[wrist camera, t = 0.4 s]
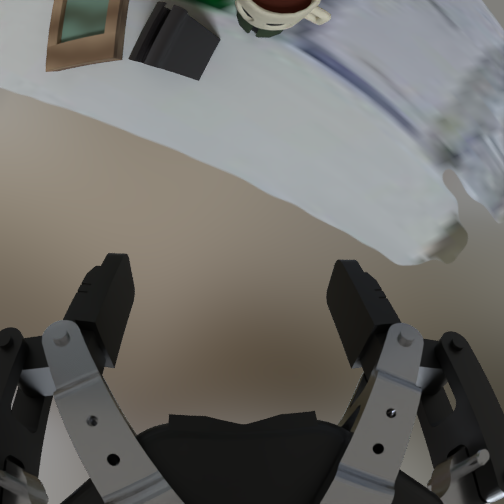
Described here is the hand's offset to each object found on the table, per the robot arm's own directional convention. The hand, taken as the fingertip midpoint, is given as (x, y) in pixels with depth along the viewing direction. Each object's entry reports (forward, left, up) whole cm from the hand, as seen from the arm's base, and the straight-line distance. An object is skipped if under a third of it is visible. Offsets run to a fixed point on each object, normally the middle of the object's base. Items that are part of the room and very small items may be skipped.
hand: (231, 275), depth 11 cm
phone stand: (-12, -7, -29) cm, 32 cm away
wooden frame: (-18, -19, -28) cm, 39 cm away
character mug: (-17, +3, -29) cm, 33 cm away
